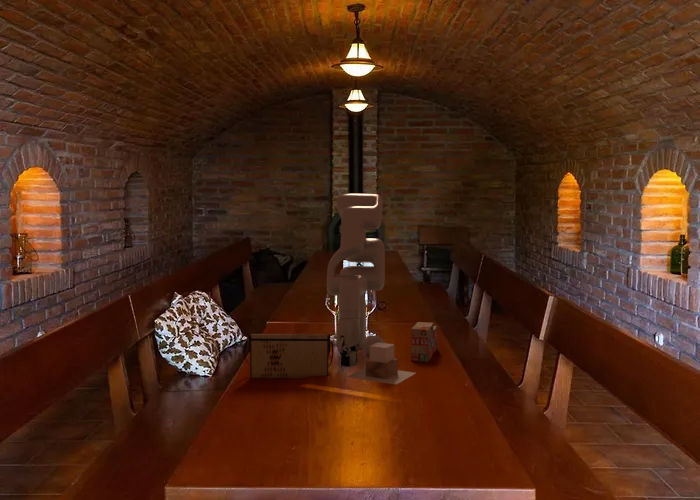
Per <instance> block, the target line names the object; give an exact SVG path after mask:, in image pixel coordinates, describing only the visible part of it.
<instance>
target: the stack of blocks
mask: <svg viewBox="0 0 700 500" xmlns="http://www.w3.org/2000/svg"><path fill="white" fill-rule="evenodd" d="M437 330H438V325H434V322H428V321H427V322H424V321H423V322H422V321H418V322H416V323H415V325H413V326H412V328H411V336H410V337H411V341H410V343H411V349H410V351H411V352H410V361H411V362H423V363H428V362H429V361H430V360H431V358H432V357H433V355H434V353H435V352H436V351H437V348H438V347H437V345H438V333H437V332H438V331H437Z"/></svg>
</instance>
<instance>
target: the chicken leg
mask: <svg viewBox="0 0 700 500" xmlns="http://www.w3.org/2000/svg"><path fill="white" fill-rule="evenodd" d="M378 342H379V343H385V340H384V339H383V338H382V337H381V336H380V335H379V334H378V335H369V336H368V337H366V339H365V340H364V348H363V351H364V353H365V355H366V356H367V357H369V358H370V346H371V345H373V344H375V343H378Z"/></svg>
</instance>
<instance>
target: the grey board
mask: <svg viewBox="0 0 700 500" xmlns="http://www.w3.org/2000/svg"><path fill="white" fill-rule="evenodd" d="M365 371H366V366H365V367H363V368H360V369H358V370H357V371H355V372H353V373H351V374H350V375H347V376H346V378H350V379H351V378H352V379H357V380H363V381H364V380H365V381H370V382H375V383H376V382H377V383H382V384H389V385H398V384H401V383H402V382H403V381H405V380H407V379H409V378H410V377H412V376H414V375H415V374H417V372H413V371H405V370H399V369H398V374H396V375H394V376H393V377H391V378H389V379H382V378H375V377H369V376H365Z"/></svg>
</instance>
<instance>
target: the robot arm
mask: <svg viewBox="0 0 700 500" xmlns="http://www.w3.org/2000/svg"><path fill="white" fill-rule="evenodd" d="M336 208H337V212H338V215H339V217H340V219H341V222H340V224H341V227H340V230H341V231H340V246H339V248H338V250H336V252H334V253H333V255H332V257H331V258H330V260H329V262H328V265H327V269H326V270H327V271H326V272H327V273H326V290H327V292H328V294H329V295H330V296H336V297H338V321H337V328H336V332H335V333H333V338H332V339H334V340H335V343H336V344H335V345H336V347H337V351H338V352H339V356H340V366H343V367H351V366H350V356H349V350H352V351H356V364H357V363H358V351H359V350H362V349H364V340H365V339H367V337H366V336H367V335H366V334H367V332H366V329H367V327H366V326H367V324H366V323H367V301H366V299H365V297H364V294H365V293H366V292H367V291H369V292H370V291H371V292H372V291H376V292H377V291H378V292H379V291H382V290H383V288H384V286H385V282H386V281H385V280H386V279H385V277H386V276H385V275H386V274H385V273H386V269H385V268H386V267H385V266H386V265H385V264H386V263H385V262H386V259H385V258H386V251H385V250H386V249H385V244H384V242H383V240H381V239H380V238H375V237H374V238H371V237H370V238H369V237H366V236H367V235H366V234H367V233H366V232H367V230H378V229H379V228H380V227H381V224H382V219H383V199H382V197H381V196H380V195H379V194H377V193H376V194H375V193H344V194H340V195H339V196H337V199H336ZM344 260H345V261H347V262H350V263H368V264H369V263H370V264H372V266H370V265H366V266H365V265H348V266H347V265H346V266H345V267H343V268H342V269H341V270H340V273H339V274H336V268H337V266H338V264H339V263H341V261H344Z"/></svg>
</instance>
